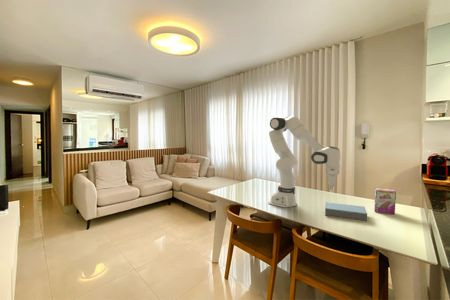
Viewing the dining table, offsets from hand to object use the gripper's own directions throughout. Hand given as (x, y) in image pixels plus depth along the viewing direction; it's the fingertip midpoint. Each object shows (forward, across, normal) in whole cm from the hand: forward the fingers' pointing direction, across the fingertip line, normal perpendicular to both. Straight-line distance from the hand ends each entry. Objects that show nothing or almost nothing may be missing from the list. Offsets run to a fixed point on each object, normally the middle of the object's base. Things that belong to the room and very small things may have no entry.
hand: (331, 189), depth 141 cm
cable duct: (+18, -1, +9) cm, 20 cm away
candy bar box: (+17, -17, +34) cm, 42 cm away
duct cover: (+13, -1, +9) cm, 16 cm away
